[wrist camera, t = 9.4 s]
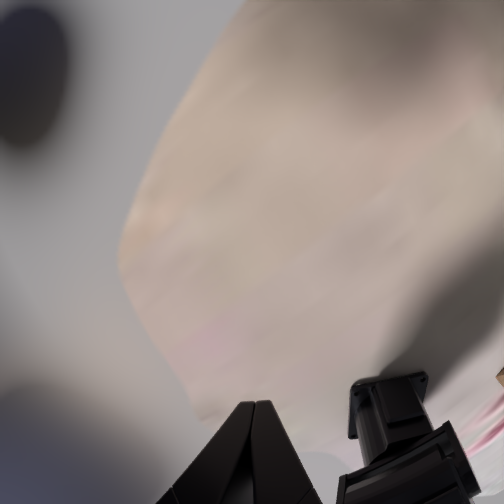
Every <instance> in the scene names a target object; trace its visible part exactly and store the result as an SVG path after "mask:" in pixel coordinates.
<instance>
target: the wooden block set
mask: <svg viewBox="0 0 504 504" xmlns="http://www.w3.org/2000/svg"><path fill="white" fill-rule="evenodd" d="M496 379H497V380H498V381H499V382H500V383H501V385H502V386H503V387H504V368H503V370H502V371H501V372H500V373H499V374H498V375H497V376H496Z"/></svg>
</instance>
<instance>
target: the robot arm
mask: <svg viewBox="0 0 504 504" xmlns="http://www.w3.org/2000/svg"><path fill="white" fill-rule="evenodd" d="M427 383H428V375H427V373H426V372H421V373H417V374H412V375H408V376H403V377H399V378H394V379H389V380H384V381H379V382H374V383H368V384H363V385H357V386H354V387H352V388H351V389H350V398H349V419H348V438H349V439H358V438H359V443H360V448H361V453H362V457H363V462H364V468H362V469H359V470H357V471H355V472H352V473H350V474H345V475H342V476H340V477H339V485H338V492H337V500H336V504H475V503H474V501H473V498H472V497H474V496H476V495H478V494H479V493H481V489H480V486H479V484H478V481H477V479H476V476H475V474H474V471H473V469H472V467H471V464H470V462H469V460H468V458H467V455H466V453H465V451H464V449H463V447H462V445H461V443H460V441H459V439H458V437H457V435H456V433H455V431H454V429H453V427H452V425H451V423H450V421H449V420H448V421H447V422H445V423H444V424H442V426H441V427H439V428H438V429H436V430H434V428H433V426H432V423H431V421H430V419H429V417H428V414H427V412H426V410H425V408H424V406H423V400H424V396H425V392H426V387H427ZM356 391H358V392H356ZM355 392H356V393H355ZM172 487H173V488H172ZM172 487H171V488H169V489H168V491H167V492H166V493H165V494H164V495H163V496H162V497H161V498H160V499H159V500H158V501H157V502H156V503H155V504H323V503H322V502H321V500H320V498H319V496H318V494H317V492H316V490H315V489H314V488H313V485H312V483H311V481H310V479H309V477H308V475H307V474H306V471H305V469H304V467H303V465H302V463H301V461H300V459H299V457H298V455H297V453H296V451H295V449H294V447H293V445H292V443H291V441H290V439H289V437H288V435H287V433H286V431H285V429H284V427H283V425H282V422H281V420H280V418H279V416H278V414H277V412H276V410H275V408H274V406H273V404H272V402H271V401H270V400H261V401H257V402H256V403H255V402H254V401H244V402H240V403H239V404H238V405H237V407H236V408H235V409H234V411H233V412H232V413H231V414H230V416H229V417H228V418H227V420H226V421H225V422H224V423H223V425H222V426H221V427H220V429H219V430H218V431H217V432H216V434H215V435H214V436H213V437H212V439H211V440H210V441H209V442H208V444H207V445H206V446H205V447H204V449H203V450H202V451H201V452H200V453H199V454H198V456H197V457H196V458H195V459H194V461H193V462H192V463H191V464H190V465H189V466H188V468H187V469H186V470H185V471H184V472H183V474H182V475H181V476H180V477H179V478H178V479H177V481H176V482H175V483H174V484H173V485H172Z"/></svg>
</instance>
